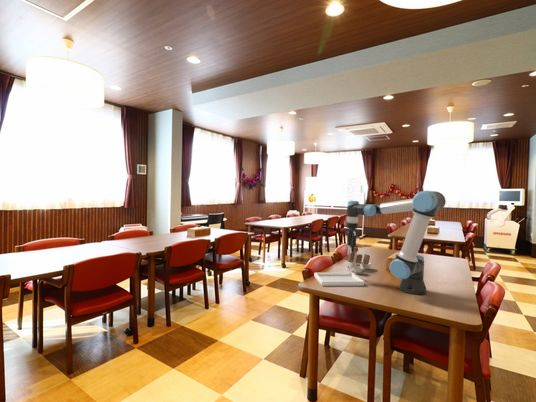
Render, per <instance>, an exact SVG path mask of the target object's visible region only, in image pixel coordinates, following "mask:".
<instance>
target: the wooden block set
mask: <svg viewBox="0 0 536 402" xmlns="http://www.w3.org/2000/svg"><path fill="white" fill-rule="evenodd" d="M355 252H357V248H356V247H354V252H352V253H351V254H350V251H349V255H348V254H347V255H346V256H344V257H343V258H342V259H343V260H345V261H347V262H348V263H349V262H350V263H353V260H354V256H355ZM370 259H371V256H370V255H369V254H364V255H363V254H361V253H358V255H357V257H356V263H359V264H360V265H362V264H361V262H363V263H364V264H369V263H370Z"/></svg>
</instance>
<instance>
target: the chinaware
mask: <svg viewBox="0 0 536 402" xmlns="http://www.w3.org/2000/svg"><path fill="white" fill-rule="evenodd" d="M357 255H359V253H358V252H357V251H355V256H354V260H353V263H350V262H348V263H347V268H348V271H350V272H351V273H354V274H355V275H360V274H361V273H362V272H363V271H364V269H365V271H369V270H370V268H371V266H372V265H373V264H372V262H369V264H364V263H363V261H361V264H359V263H356V257H357Z"/></svg>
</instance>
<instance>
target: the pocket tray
mask: <svg viewBox="0 0 536 402" xmlns="http://www.w3.org/2000/svg"><path fill="white" fill-rule="evenodd" d="M313 274H314V276H313V277H314V278H315V280H316V281H317V282H318V283H319V285H320V284H321V285H320V286H321V287H364V286H365V281H364V280H363V279H362V278H360V277H359V276H357V274H355V273H354V272H353V273H352V272H314V273H313Z"/></svg>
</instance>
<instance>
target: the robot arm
mask: <svg viewBox="0 0 536 402" xmlns="http://www.w3.org/2000/svg"><path fill="white" fill-rule="evenodd" d="M446 203H447V200H446V197H445V195H444V194H443V193H442V192H439V191H436V190H435V191H433V190H422V191H419V192H417V193H416V194H415V195H414V196H413V198H407V199H402V200H394V201H389V202H382V203H381V202H380V203H374V204H370V203H369V204H364V203H360V201H358V200H348V201H347V205H346V206H347V207H346V208H347V212H346V218H345V219H346V228H347V230H346V233H347V235H346V236H347V237H346V244H347V255H349V251H350V254H351V253H352V252H354V248H356V247H357V236H358V234H357V233H358V232H356V230H357V229H358V227H359V224H358V223H359V216H365V217H366V216H367V217H374V216H379V215H386V214H395V213H403V212H404V213H405V212H412V213H413V216H412V218H411V221H410V225H409V226H408V231H407V233H406V235H405V237H404V238H405V239H404V240H403V241H404V242H403V243H402V247H401V249H400V251H398V252H397V253H396V255H395V257H394V259H393V260H392V261H391V262H390V264H389V271H390V272H391V274H392V276H394V277H395V278H397V279H399V280H400V284H399V285H398V288H399V290H400V291H401V292H403V293H407V294H412V295H419V296H420V295H426V294H427V287H426V284H425V280H424V275H425V274H424V272H425V270H424V269H425V259H424V258H425V257H424V256H423V255H420V254H418V253H419V250H420V248H421V246H422V243H423V239H424V237H425V236H426V235H425V234H426V232H427V229H428V227H429V224H430V222H431V220H432V219H434V218H435V217H436V214H437V212H438V211H440V210H442V209H444V207H445V205H446Z"/></svg>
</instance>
